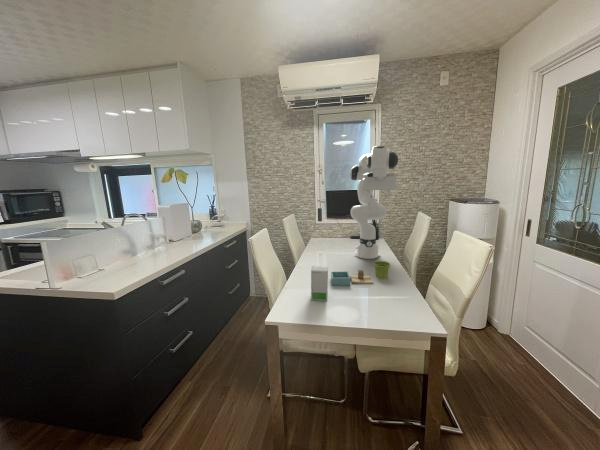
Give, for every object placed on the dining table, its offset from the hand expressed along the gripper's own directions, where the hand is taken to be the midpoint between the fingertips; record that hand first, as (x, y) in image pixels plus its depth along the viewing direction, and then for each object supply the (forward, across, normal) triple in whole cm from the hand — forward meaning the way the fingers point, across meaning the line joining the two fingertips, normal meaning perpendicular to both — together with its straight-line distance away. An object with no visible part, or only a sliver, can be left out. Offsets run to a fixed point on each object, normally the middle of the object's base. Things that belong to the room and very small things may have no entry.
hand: (378, 197), depth 150 cm
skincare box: (+47, +38, +33) cm, 69 cm away
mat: (+47, +13, +14) cm, 50 cm away
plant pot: (+47, 0, +10) cm, 48 cm away
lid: (+46, +13, +14) cm, 50 cm away
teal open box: (+47, +25, +16) cm, 55 cm away
